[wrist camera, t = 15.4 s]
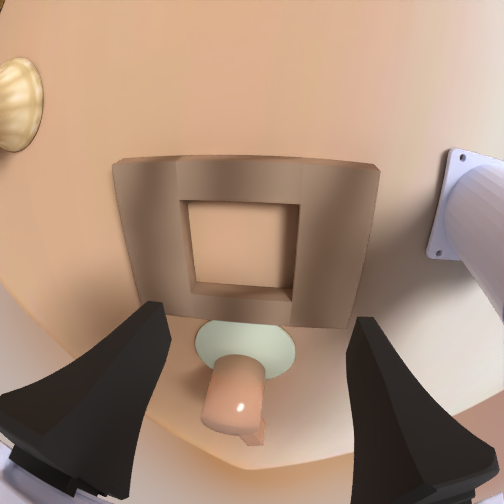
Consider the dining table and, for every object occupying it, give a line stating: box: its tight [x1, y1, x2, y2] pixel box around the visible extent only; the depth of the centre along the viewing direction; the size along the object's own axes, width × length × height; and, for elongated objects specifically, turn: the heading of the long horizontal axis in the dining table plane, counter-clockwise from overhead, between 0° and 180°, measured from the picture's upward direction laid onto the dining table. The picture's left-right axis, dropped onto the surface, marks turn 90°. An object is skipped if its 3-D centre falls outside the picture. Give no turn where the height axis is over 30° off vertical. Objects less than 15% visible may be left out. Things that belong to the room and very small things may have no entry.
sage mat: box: [195, 320, 295, 380], centre depth 26 cm, size 9×9×1 cm
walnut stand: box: [112, 155, 380, 329], centre depth 20 cm, size 16×12×2 cm
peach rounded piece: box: [201, 354, 266, 446], centre depth 26 cm, size 9×5×6 cm, turn 20°
